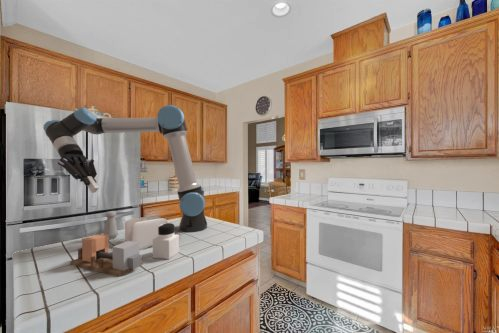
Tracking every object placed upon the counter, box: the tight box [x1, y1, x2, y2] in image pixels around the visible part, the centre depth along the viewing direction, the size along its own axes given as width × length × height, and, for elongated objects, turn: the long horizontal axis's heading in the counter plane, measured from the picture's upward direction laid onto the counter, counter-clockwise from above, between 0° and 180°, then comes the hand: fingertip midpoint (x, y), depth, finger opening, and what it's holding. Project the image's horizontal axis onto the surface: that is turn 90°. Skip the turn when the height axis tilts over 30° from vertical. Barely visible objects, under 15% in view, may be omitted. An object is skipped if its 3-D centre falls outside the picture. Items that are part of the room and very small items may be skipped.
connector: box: [112, 241, 142, 271], centre depth 71 cm, size 7×6×7 cm
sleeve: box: [81, 233, 110, 262], centre depth 77 cm, size 5×6×8 cm
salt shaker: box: [103, 210, 119, 241], centre depth 102 cm, size 6×6×13 cm
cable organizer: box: [124, 214, 168, 251], centre depth 94 cm, size 15×11×12 cm
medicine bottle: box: [152, 222, 180, 260], centre depth 83 cm, size 7×7×12 cm
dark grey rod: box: [96, 251, 113, 260], centre depth 76 cm, size 19×2×2 cm, turn 70°
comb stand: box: [69, 247, 144, 277], centre depth 75 cm, size 24×9×5 cm, turn 70°
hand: (95, 190), depth 85 cm, fingers closed
